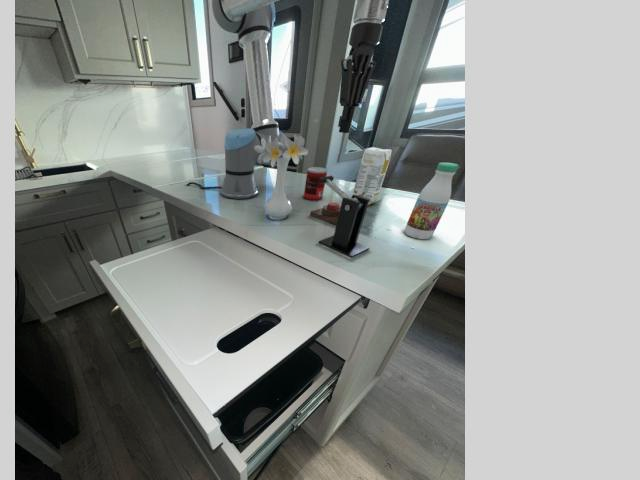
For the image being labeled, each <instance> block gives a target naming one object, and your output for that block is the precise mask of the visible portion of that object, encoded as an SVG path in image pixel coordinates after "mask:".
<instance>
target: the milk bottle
mask: <svg viewBox="0 0 640 480" xmlns="http://www.w3.org/2000/svg"><path fill="white" fill-rule="evenodd" d="M458 169H459V164H457V163H453V162H439V163H438V164H437V167H436V170H435V171H434V172H435V173H434V176H433V177H432V178H431V180H430V181H429V182H428V183H427V184H426V185H424V187H423V188H422V190H421V191H420V193H419V195H418V197H417V199H416V201H415V204H414V206H413V208H412V210H411V213H410V214H409V218H408V220H407V223H406V225H405V228H404V231H403V232H404V234H405V235H407V236H409V237H410V238H414V239H418V240H419V239H420V240H428V239H431V238H432V237H433V235H434V234H435V231H436V230H437V227H438V225H439V224H440V221H441V219H442V217H443V215H444V213H445V210H446V208H447V206H448V204H449V202H450V200H451V198H452V197H451V195H452V181H453V177H454V175H455V174H456V172H457V171H458Z"/></svg>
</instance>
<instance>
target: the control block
mask: <svg viewBox="0 0 640 480" xmlns="http://www.w3.org/2000/svg"><path fill="white" fill-rule="evenodd" d="M327 207H328V204H326V205H323V206H322V207H321V208H317V209H314V210H311V211H310V212H309V217H312V218H315V219H316V220H320V221H322V222H325V223H328V224H330V225H333V226H335V227H336V225H337V220H338V216H339V212H340V208H341V206H339V208H338V210H329V209H327Z"/></svg>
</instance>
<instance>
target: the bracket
mask: <svg viewBox="0 0 640 480" xmlns="http://www.w3.org/2000/svg"><path fill="white" fill-rule="evenodd" d="M352 198H357V199H358V200H359V201H360V202H361V203H363V206H362V207H361V208H360V210H359V211H358V209H359V205H360V202H359V201H356V200H353V199H352ZM369 200H370V199H369V198H365V197H361V196H358V195H353V194H352V195H351V199H349V198H346V197H345V198H343V199H341V205H340V207H341V208H340V212H339V216H338V220H337V225H336V226H335V229H334V233H333V235H331V236H328V237H326V238H324V239H321V240H319V241H318V244H320V245H322V246H325V247H327V248H329V249H331V250H333V251H336V252H338V253H340V254H342V255H344V256H347V257H349V258H350V259H353V258H355V257H357V256H359V255H361V254H364V253H366V252H367V251H370V247H368V246H366V245H365V244H364V245H363V244H361V243H358V240H359V235H360V232H361V229H362V226H363V222H364V220H365V216H366V212H367V210H368V206H369V205H368V203H369Z"/></svg>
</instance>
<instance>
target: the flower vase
mask: <svg viewBox="0 0 640 480" xmlns="http://www.w3.org/2000/svg"><path fill="white" fill-rule="evenodd" d="M305 142H306V140H305V137H303V136H302V135H298V136H297V134H296V133H294V135H293V141H292V140H291V139H290V138H288V137H287V134H283V136H282V137H281V140H280V142H278V138H275V140H274V142H272V143H271V142H270V136H269V139H268V143H266V142H265V140H264V138H262V139H261V145H262V146H263V147H262V146H255V147H254V149H255V151H256V152H258V153H261V154H260V155H259V157H258V163H261V162H262V161H263V162H267V163H269V161H270V160H271V163H270V166H271V168H274V167H275V165H276V178H275V186H274V191H273V193H272V195H271V196H270V197H269V198H268V200H267V201H266V202H265V205H264V211H265V212H266V213H267V215H268V218H270V219H271V220H273V221H280V220H282V219H286V218H287V216H289V214H290V213H291V212H292V210H293V206H292V203H291V200H289V198H288V197H287V192H286V183H287V182H286V181H287V170H288V165H289V163H290V160H291V158H292V162H293V163H294V164H295V165H299V163H300V160H303V156H305V157H309V150H308V149H307V148H306V147H304V146H305V144H306V143H305ZM276 160H277V161H276Z"/></svg>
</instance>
